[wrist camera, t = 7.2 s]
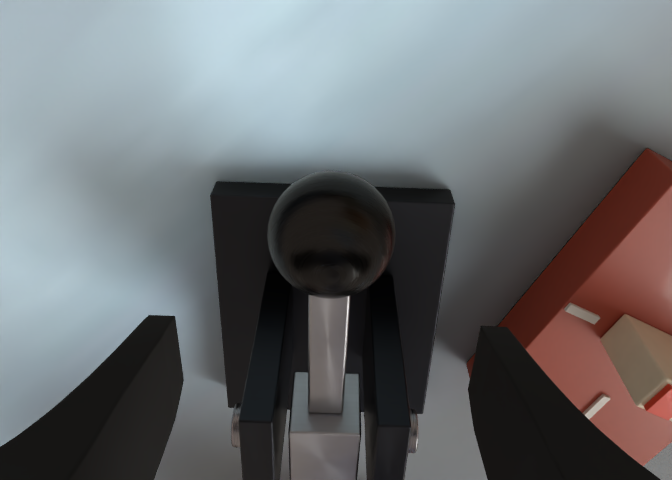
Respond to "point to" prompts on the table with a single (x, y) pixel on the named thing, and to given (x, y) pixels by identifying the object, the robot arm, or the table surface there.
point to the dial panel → (606, 303)
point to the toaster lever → (328, 308)
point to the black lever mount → (363, 331)
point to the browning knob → (642, 363)
